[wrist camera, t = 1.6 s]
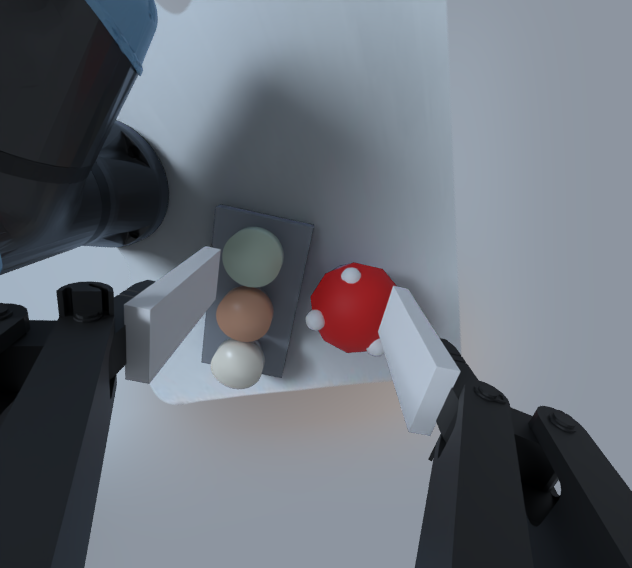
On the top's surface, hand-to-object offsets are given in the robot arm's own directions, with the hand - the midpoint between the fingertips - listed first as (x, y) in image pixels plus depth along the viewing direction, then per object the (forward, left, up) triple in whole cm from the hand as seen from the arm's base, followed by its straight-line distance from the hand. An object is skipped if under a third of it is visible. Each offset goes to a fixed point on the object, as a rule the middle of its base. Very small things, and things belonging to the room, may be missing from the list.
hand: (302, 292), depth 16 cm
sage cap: (-6, -6, -21) cm, 22 cm away
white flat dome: (-6, -21, -21) cm, 30 cm away
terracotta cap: (-6, -13, -21) cm, 25 cm away
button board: (-6, -13, -25) cm, 29 cm away
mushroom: (+7, -9, -26) cm, 28 cm away
